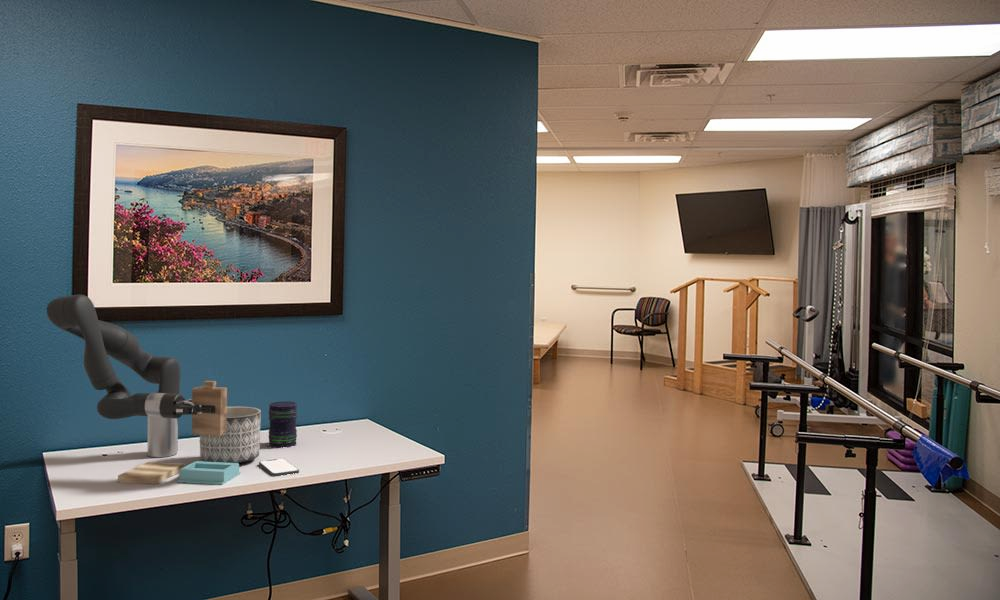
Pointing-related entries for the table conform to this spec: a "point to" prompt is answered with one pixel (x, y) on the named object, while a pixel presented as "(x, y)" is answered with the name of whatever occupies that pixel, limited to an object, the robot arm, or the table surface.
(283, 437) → the storage jar
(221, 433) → the brown wooden bottle
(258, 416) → the planter
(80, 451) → the table surface
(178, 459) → the table surface
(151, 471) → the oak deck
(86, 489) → the table surface
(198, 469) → the teal rack
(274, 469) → the phone case
